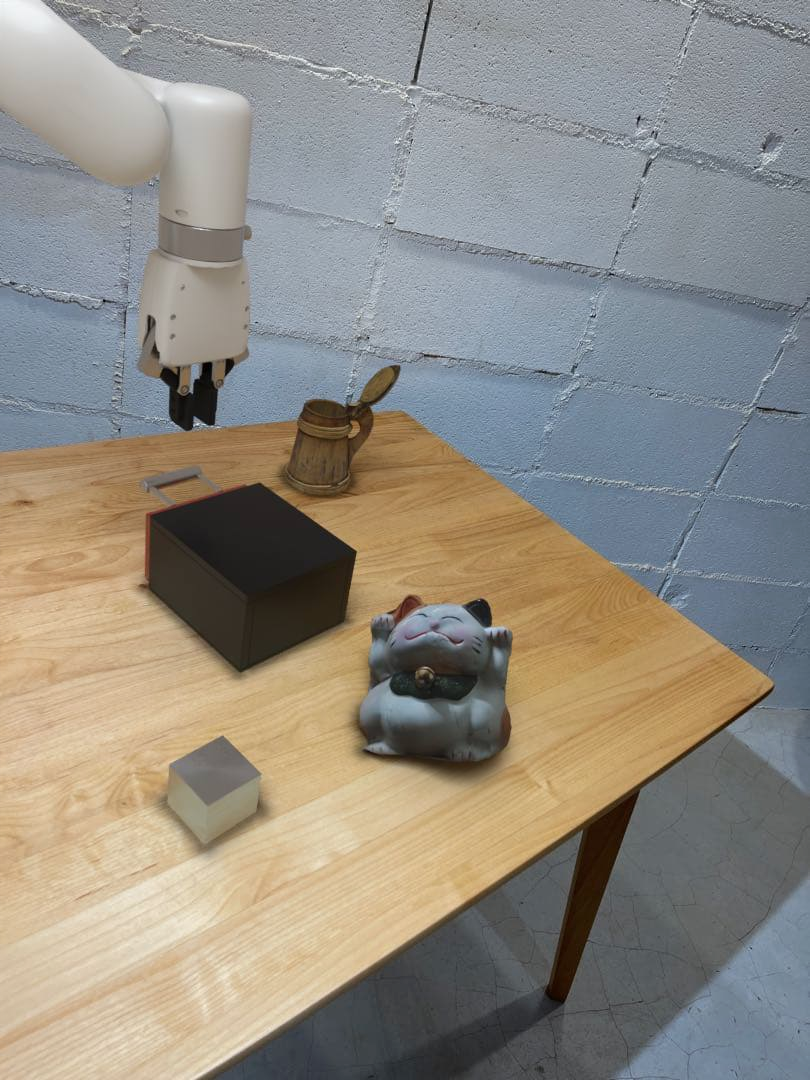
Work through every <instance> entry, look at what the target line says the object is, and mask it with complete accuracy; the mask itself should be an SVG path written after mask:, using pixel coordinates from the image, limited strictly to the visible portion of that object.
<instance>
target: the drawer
mask: <svg viewBox="0 0 810 1080" xmlns="http://www.w3.org/2000/svg"><path fill="white" fill-rule="evenodd" d="M193 481H199V482H200V483H201V484H203V485H204V486H205V487H206V488H207V489H209V490H210V491H212V492H213V493H211V494H208V495H204V496H201V497H197V498H194V499H190V500H187V501H183V502H181V503H178V504H176V502H174V501H173V500H172V499H171V498H169V497H168V496H167V495H166V494H164V493H163V492H162V491H161V490H165V489H168V488H172V487H175V486H179V485H182V484H183V485H184V484H186V483H189V482H193ZM138 485H139V486H138V487H139V489H140V491H141V493H142V494H145V495H146V494H151V495H152V496H153V497H154V498H155V499H157V501H159V502H161V503H162V504H163V505H164V506H166V507H163V508H160V509H157V510H154V511H153V510H152V511H151V512H147V513H145V535H144V536H145V539H144V542H145V543H144V577H145V578H147V580H149V543H150V515H152V514H155V513H158V512H162V511H165V510H169V509H172V508H175V507H179V506H182V505H185V504H189V503H192V502H195V501H199V500H202V499H205V498H209V497H212V496H215V495H219V494H222V493H225V492H229V491H232V490H235V489H239V488H242V487H245V486H248V484H246V483H244V484H240V485H238V486H235V487H230V488H227V489H224V490H223V488H221V487H220V486H218V484H216V483H215V482H213V480H210V478H208V477H206V475H204V474H203V473H202V469H201V467H200V465H197V464H195V465H190V466H187V467H183V468H180V469H176V470H172V471H168V472H164V473H160V474H157V475H153V476H149V477H144V478H141V479H139V482H138Z"/></svg>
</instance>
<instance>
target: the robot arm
mask: <svg viewBox="0 0 810 1080" xmlns="http://www.w3.org/2000/svg"><path fill="white" fill-rule="evenodd" d="M0 109H1V110H3V111H4V112H5V113H6V114H8V115H9V116H10V117H12V118H13V119H14V120H16V121H17V122H18V123H20V124H21V125H22V126H23V127H25V128H26V129H28V131H30V132H32V133H33V134H34V135H35V136H37V137H38V138H39V139H41V140H42V141H44V142H45V143H47V145H49V146H50V147H52V148H53V149H54V150H56V151H58V152H59V153H60V154H61V155H62V156H64V157H66V159H68V160H69V161H71V162H72V163H73V164H75V165H76V166H78V167H79V168H81V170H83V171H84V172H86V173H87V174H89V175H91V176H92V177H94V178H96V179H98V180H100V181H102V182H104V183H107V184H110V185H113V186H117V187H118V186H119V187H134V186H140V185H143V184H144V183H147V182H149V181H150V180H152V179H153V178H154V177H156V176H157V175H158V174H159V175H158V177H159V181H158V188H159V189H158V225H157V226H158V227H157V229H158V231H157V248H153V249H150V250H149V252H148V254H147V259H146V263H145V266H144V270H143V276H142V280H141V287H140V294H139V295H140V297H139V304H138V305H139V306H138V317H137V335H136V337H137V338H136V339H137V346H138V349H139V350H140V351H141V353H140V355H139V358H138V361H137V363H136V369H137V371H139V372H140V373H141V374H144V375H145V376H147V377H151V378H154V379H159V380H161V381H162V383H164V384H165V385H166V386H167V387H168V388H169V390H168V416H169V419H170V421H171V422H172V423H173V424H175V425H176V426H178V427H179V428H181V429H182V430H184V431H185V432H190V431H192V430H193V429H194V426H195V425H194V424H195V423H194V421H195V418H196V419H197V420H198V421H200V422H202V423H203V424H205V425H206V426H208V427H212V426H215V425H216V418H217V417H216V415H217V410H218V399H219V389H222V388H223V387H224V385H225V379H226V378H227V376H228V375H229V373H230V372H232V370H233V368H234V367H235V366H238V365H239V364H240V363H242V362H244V361H245V360H247V359H248V358H249V355H250V352H249V347H248V343H249V342H248V341H249V337H250V336H249V335H250V323H251V288H250V287H251V286H250V274H249V266H248V261H247V260H248V259H247V257H246V256H245V255H244V242H245V241H249V240H251V238H252V236H253V231H252V228H251V226H249V225H248V224H246V214H247V202H248V201H247V200H248V188H249V185H248V184H249V173H250V162H251V161H250V160H251V149H252V134H253V116H254V115H253V110H252V106H251V103H250V102H249V100H248V99H247V98H246V97H245V96H243V95H242V94H241V93H238V92H236V91H233V90H230V89H227V88H223V87H219V86H214V85H209V84H203V83H197V82H185V81H182V82H171V81H168V80H167V81H166V80H163V79H159V78H156V77H151V76H148V75H146V74H141V73H139V72H135V71H132V70H130V69H127V68H123V67H120V66H118V65H116V64H115V63H114V62H113V61H112V60H111V59H109V58H108V57H107V56H106V55H105V54H104V53H102V52H101V51H100V50H99V49H98V48H97V47H95V46H94V45H93V44H92V43H91V42H89V41H88V39H86V38H85V37H84V36H82V35H81V34H80V33H79V32H78V31H77V30H75V29H74V28H73V27H72V26H71V25H70V24H69V23H68V22H66V21H65V20H64V19H63V18H61V16H59V14H58V13H56V12H55V11H54V10H53V9H51V7H50V6H48V5H47V4H46V3H45V2H44V1H42V0H0ZM159 362H160V363H159ZM197 364H198V378H195V379H194V378H193V379H194V381H193V385H192V392H191V384H192V383H191V382H192V381H191V380H192V378H191V377H192V365H197Z"/></svg>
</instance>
